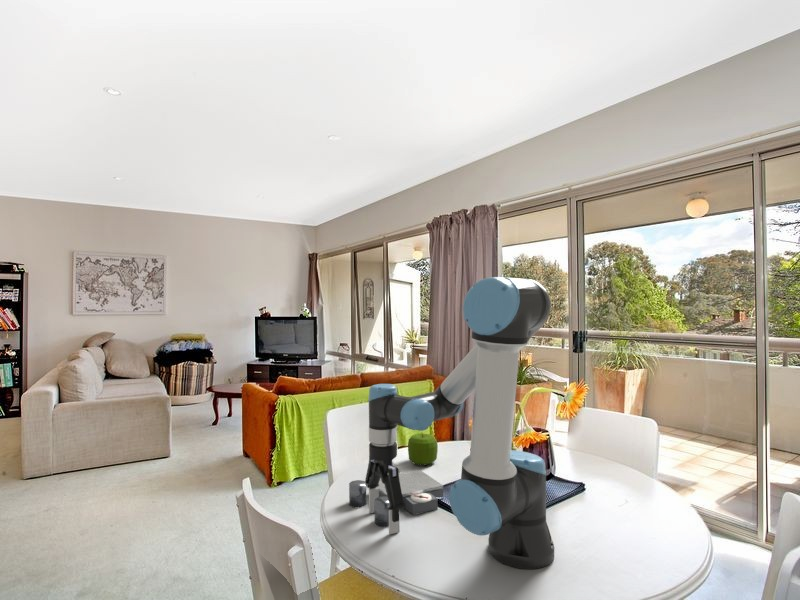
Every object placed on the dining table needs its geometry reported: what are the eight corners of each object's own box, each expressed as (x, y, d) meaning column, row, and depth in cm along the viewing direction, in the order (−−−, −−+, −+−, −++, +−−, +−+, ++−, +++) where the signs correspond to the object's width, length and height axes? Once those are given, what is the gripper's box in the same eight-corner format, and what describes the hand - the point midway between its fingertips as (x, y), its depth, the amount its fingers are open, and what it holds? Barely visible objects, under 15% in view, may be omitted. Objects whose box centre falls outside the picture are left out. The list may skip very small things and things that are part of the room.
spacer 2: (396, 524, 122) (396, 502, 122) (379, 528, 120) (378, 505, 120) (388, 516, 126) (388, 495, 126) (371, 520, 124) (371, 498, 124)
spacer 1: (368, 505, 134) (368, 484, 134) (352, 509, 131) (352, 488, 131) (362, 498, 138) (362, 479, 138) (346, 502, 136) (346, 482, 136)
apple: (435, 469, 162) (434, 438, 162) (405, 466, 165) (405, 436, 165) (439, 458, 173) (439, 429, 173) (411, 456, 175) (411, 428, 175)
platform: (443, 487, 137) (443, 485, 137) (389, 500, 129) (389, 497, 129) (420, 472, 150) (420, 470, 150) (369, 482, 142) (369, 480, 142)
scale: (453, 506, 133) (453, 493, 133) (397, 519, 124) (397, 506, 124) (420, 482, 150) (420, 471, 150) (369, 493, 142) (369, 481, 142)
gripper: (417, 453, 114) (417, 539, 114) (377, 429, 136) (377, 501, 136) (389, 458, 111) (390, 546, 111) (353, 432, 132) (354, 506, 132)
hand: (383, 521), depth 123 cm, fingers open, 12 cm apart
